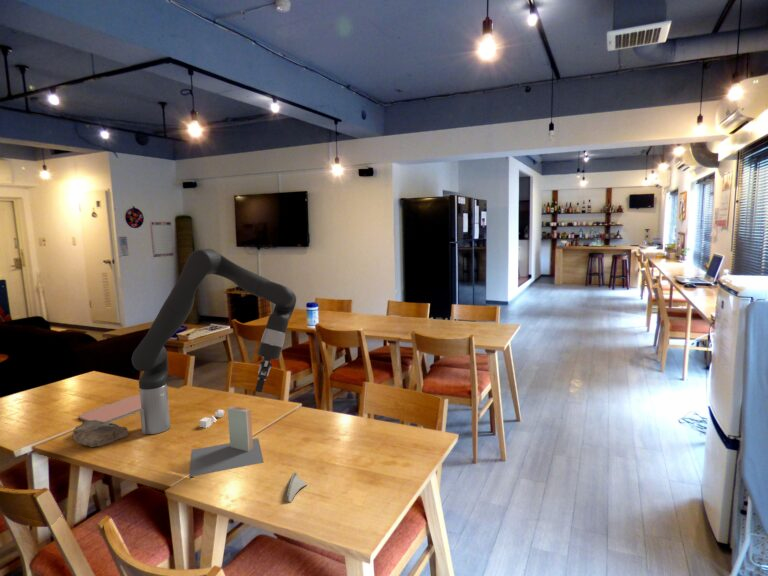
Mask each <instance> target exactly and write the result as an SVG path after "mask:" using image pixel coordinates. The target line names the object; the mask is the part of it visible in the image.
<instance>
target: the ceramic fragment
mask: <svg viewBox="0 0 768 576" xmlns="http://www.w3.org/2000/svg"><path fill="white" fill-rule="evenodd" d="M307 486H308V485H307V483H306V482H305V481H304V480H303V478H300V477H298V475H297V472H296V471H294V472H292V474H291V477H290V479H289V481H288V483H287V486H286V490H285V495H284V500H285V502H286V503H290V504H291V503H292V502H293V500H294V499H295V497H296V495H297V494H298V492H299V491H301V490H302V489H304V488H306V487H307Z"/></svg>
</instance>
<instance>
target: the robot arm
mask: <svg viewBox="0 0 768 576" xmlns="http://www.w3.org/2000/svg"><path fill="white" fill-rule="evenodd" d="M186 259H187V260H186V262H185V264H184V266H183V269H182V271H181V273H180V275H179V277H178V279H177V281H176V283H175V284H174V286H173V287H172V289H171V291H170V293H169V294H168V296H167V297H166V299H165V301H164V302H163V304H162V306H161V307H160V309H159V312H158V313H157V315H156V317H155V319H154V320H153V322H152V324H151V325H150V328H149V330H148V332H147V333H146V335H145V336H144V337H143V339H142V340H141V341H140V343H139V344H138V346H136V348H135V349H134V350H133V352H132V356H131V364H132V366H133V368H134V369H135V370H137V371H139V372H143V373H142V375H141V376H140V378H139V380H138V389H139V390H138V391H139V395H140V401H141V409H140V412H139V413H140V422H141V433H142V435H145V434H146V435H154V434H155V435H156V434H160V433H164V432H165V431H168V430H169V429H170V428H171V419H170V416H171V415H170V405H169V396H168V395H169V394H168V385H167V383H168V382H167V379H168V375H169V364H168V363H169V361H168V352H167V349H166V347H165V345H166V344H167V342H168V341H169V340H170V338H172V337H173V336H174V335H175V334H176V333H177V332H178V330H179V329H180V328H181V327H182V326H183V325H184V323H185V322H186V320H187V318H188V317H189V315H190V314H191V312H192V310H193V306H194V305H195V304H194V302H195V296H196V291H197V290H198V287H199V286H200V285H201V283H202V281H203V280H204V279H205V277H206V276H207V275H216V276H220V277H221V278H225V279H227V280H229V281H231V282H233V284H235V285H237V287H238V288H240V289H241V290H244V291H245V292H247V293H250V294H251V295H253V296H255V297H258V298H261V299H263V300H264V299H265V300H266V301H268V302H270V303H272V304H274V308H273V311H272V313H270V315H269V316H268V320H267V322H266V324H265V325H266V326H265V329H264V332H263V333H262V337H261V341H260V344H259V346H258V350H257V355H259V356H261V357H263V359H262V361H260V363H259V369H258V371H257V374H258V375H257V382H256V385H255V389H254V391H255V392H258V393H262V392H263V388H264V385H265V381H267V377H269V375H270V374H269V373H270V370H271V369H272V366H273V364H272V363H271V360H272V359H273V360H279V359H280V356H281V354H282V350H283V347H284V343H285V337H286V333H287V329H288V326H289V323H290V322H289V321H290V319H291V317H292V314H293V313H294V309H295V308H296V303H297V296H296V294H295V292H293V290H291V289H292V288H289V287H287V286H285V285H283V284H280V283H277V282H275V281H271V280H270V279H267V278H266V277H264V276H261V275H259V274H257V273H255V272H253V271H250V270H248V269H245V268H244V267H242V266H240V265H238V264H236V263H235V262H233V261H232V260H230V259H228V258H226V257H225V256H224V255H222V254H221V253H220V252H218V251H216V250H215V249H212V248H199V249H195V250H194V251H191V253H190V254H189V255H188V258H186Z"/></svg>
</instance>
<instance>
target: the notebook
mask: <svg viewBox="0 0 768 576" xmlns="http://www.w3.org/2000/svg"><path fill="white" fill-rule="evenodd" d="M140 409H141V401H140V394H136V395H132V396H129V397H127V398H123V399H121V400H118V401H115V402H112V403H108V404H105V405H103V406H99V407H96V408H94V409H91V410H87V411H84V412H83V413H81V414H79V415H77V417H78V419H80V420H82V421H84V422H87V421H90V420H97V421H102V422H108V423H114V422H115V421H118V420H121V419H123V418H125V416H126V417H128V415H129V416H131V414H132V415H134V414H137V413H140V412H139V411H140ZM136 412H137V413H136ZM133 413H134V414H133Z"/></svg>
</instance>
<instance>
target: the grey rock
mask: <svg viewBox="0 0 768 576" xmlns="http://www.w3.org/2000/svg"><path fill="white" fill-rule="evenodd" d="M72 434H73V435H72V438H73V440H74V441H75V442H76V443H78V444H80V445H82V446H85V447H86V446H89V447H90V448H94V447H102V446H106V445H109V444H111V443H113V442H115V441H118V440H120V439H124V438H126V437H128V435H129V430H128V428H127V427H126V426H121V425H119V424H117V423H114V422H110V423H108V422H102V421H97V420H90V421H84V422H83V423H81V424H79V425H78V426H75V428H74V429H73V433H72Z"/></svg>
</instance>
